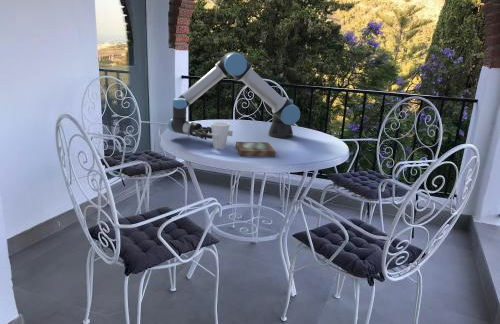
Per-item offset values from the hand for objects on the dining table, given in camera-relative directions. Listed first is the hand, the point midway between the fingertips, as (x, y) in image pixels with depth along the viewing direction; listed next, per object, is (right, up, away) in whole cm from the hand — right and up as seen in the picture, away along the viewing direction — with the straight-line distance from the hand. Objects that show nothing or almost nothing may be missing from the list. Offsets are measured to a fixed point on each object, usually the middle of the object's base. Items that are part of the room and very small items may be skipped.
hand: (225, 135), depth 216 cm
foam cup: (-3, -6, +4) cm, 8 cm away
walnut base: (+15, -8, 0) cm, 18 cm away
